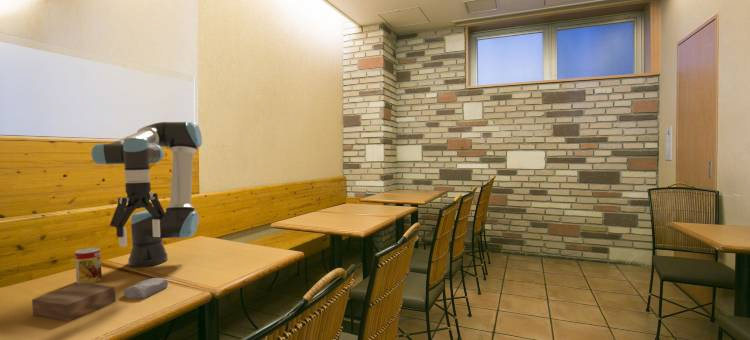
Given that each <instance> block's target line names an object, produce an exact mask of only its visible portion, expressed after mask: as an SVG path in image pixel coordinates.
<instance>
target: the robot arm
mask: <svg viewBox="0 0 750 340" xmlns="http://www.w3.org/2000/svg"><path fill="white" fill-rule="evenodd" d="M202 144H203V137H202V131H201V129H200V126H199V125H198V124H197V123H196V122H194V121H193V122H190V121H162V122H156V123H152V124H149V125H146V126H142V127H141V128H139V129H138V130H137V132H134V133H133V134H130V135H127V136H126V137H123V138H120V139H118V140H115V141H113V142H111V143H99V144H98V143H97V144H94V146H93V147H92V149H91V159H92V161H93V162H94V163H96V164H97V165H124V181H125V182H126V183H125V184H124V185H125V193H126V195H127V196H126V197H119V198H117V206H116V207H115V210H114V214H113V215H112V218H111V220H110V224H109V226H110V227H113V228H115V229H116V237H117V238H118V246H119V247H128V237H127V236H128V235H127V233H128V232H127V227H126V226H125V225H126V223H127V222H128V220H129V219H131V220H130V229H131V246H132V247H131V250H130V254H129V258H128V261H127V262H128V266H129V267H133V268H141V267H142V268H143V267H149V266H155V265H159V264H163V263H165V262H167V261H168V253H167V252H166V249H165V246H164V244H163V239H183V238H191V237H192V236H194V235H195V233H196V232H197V230H198V225H199V219H200V217H199V213H198V211H196V210H195V207H194V206H193V205H192V192H193V191H192V188H193V185H192V184H193V168H194V167H193V166H194V154H195V153H197V152H198V148H200V147H201V146H202ZM163 147H164V148H165V147H166V148H169V152H172V165H171V167H172V169H171V178H170V179H171V181H170V182H171V183H170V201H169V204H168V206H166V207H165V211H164V208H163V206H162V204H161V202H160V200H159V198H158V197H159V196H158V194H157V192H156V193H155V192H153V193H152V192H151V191H152V187H151V182H150V180H151V172H150V171H151V170H150V168H151V167H150V166H151V164H153V165H155V164H157V163H159V162H160V161H162V160H163V158H164V155H165V153H164V149H163ZM138 209H145V210H142V211H138V212H136V213H135V212H134V211H136V210H138ZM133 212H134V213H133Z"/></svg>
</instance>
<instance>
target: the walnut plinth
mask: <svg viewBox="0 0 750 340" xmlns="http://www.w3.org/2000/svg"><path fill="white" fill-rule="evenodd" d="M31 302H32V303H31V304H32V315H33V316H35V317H41V318H46V319H47V318H48V319H53V320H59V321H65V322H69V321H73V320H75V319H77V318H79V317H82V316H84V315H86V314H87V315H88V314H89V313H91V312H93V311H96V310H99V309H100V308H103V307H106V306H108V305H111V304H112V303H115V302H116V287H115V286H113V285H104V284H103V285H102V284H97V283H90V284H89V283H79V284H77V283H76V284H73V285H70V286H67V287H64V288H62V289H59V290H55V291H53V292H49V293H47V294H44V295H41V296H39V297H36V298H33V299H32V300H31Z"/></svg>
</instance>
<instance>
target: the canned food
mask: <svg viewBox="0 0 750 340" xmlns="http://www.w3.org/2000/svg"><path fill="white" fill-rule="evenodd" d="M101 254H102V253H101V248H100V247H87V248H82V249H78V250H76V251H75V252H74V257H75V258H74V259H75V275H76V276H75V277H76V284H79V283H89V284H95V283H97V282H99V281H102V279H103V277H102V276H103V274H102V273H103V272H102V258H101V257H102V255H101Z"/></svg>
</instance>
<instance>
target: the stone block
mask: <svg viewBox="0 0 750 340" xmlns="http://www.w3.org/2000/svg"><path fill="white" fill-rule="evenodd" d="M168 285H169V282H168V279H164V278H160V277H152V278H149V279H143V280H141V281H139V282H137V283H135V284H134V285H131V286H128V287H126V288H124V290H123V294H124V297H125V298H127V299H128V298H129V299H147V298H149V297H151V296H152V295H154V294H156V293H159V292H161V291H164V289H166V288H167V287H168Z"/></svg>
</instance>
